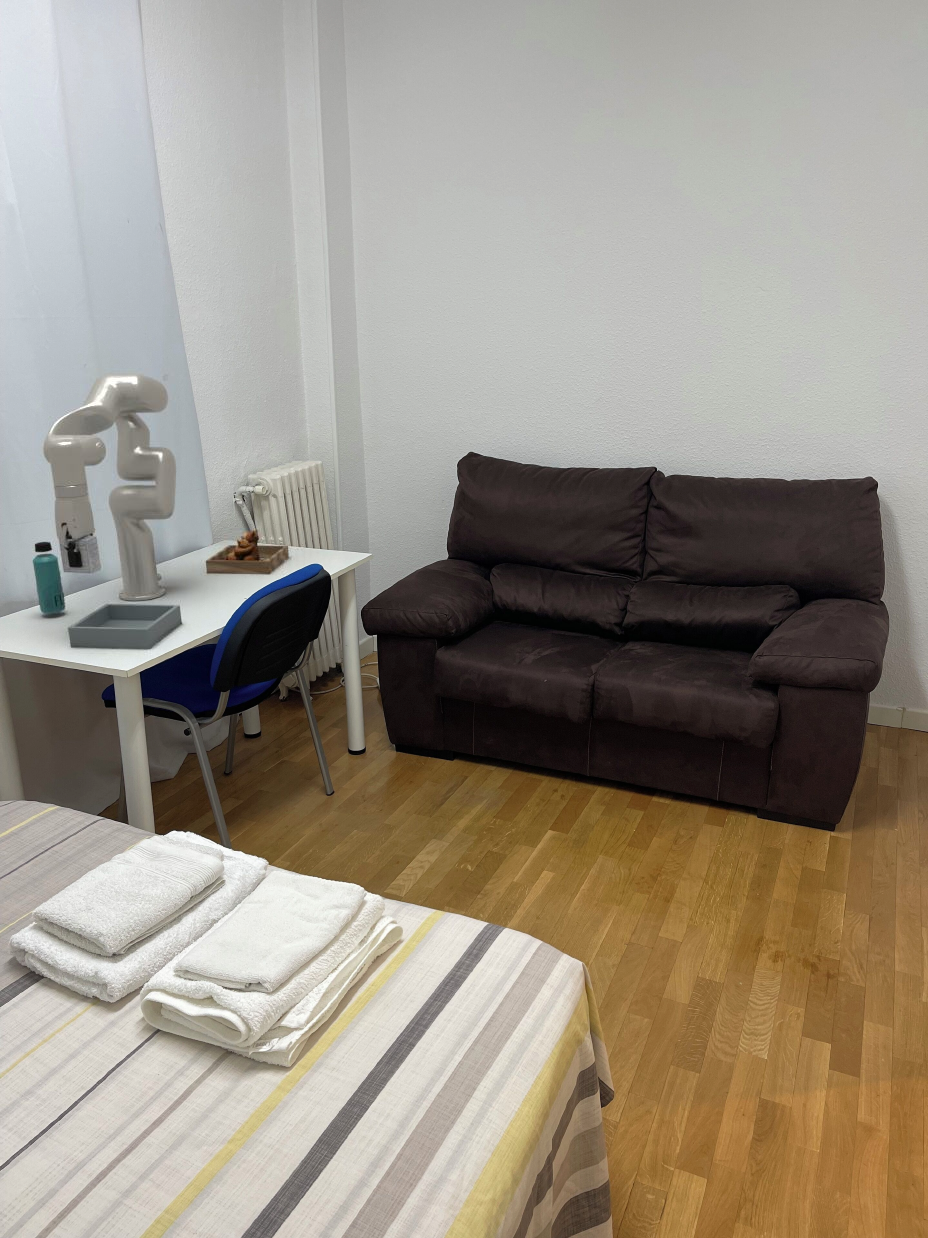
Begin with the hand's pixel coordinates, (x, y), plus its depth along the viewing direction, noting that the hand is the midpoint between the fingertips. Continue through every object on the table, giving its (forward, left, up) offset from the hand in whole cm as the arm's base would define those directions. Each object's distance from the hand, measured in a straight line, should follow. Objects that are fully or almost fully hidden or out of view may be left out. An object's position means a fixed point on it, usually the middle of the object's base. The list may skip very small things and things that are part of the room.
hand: (81, 563), depth 239 cm
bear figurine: (-67, +18, -19) cm, 72 cm away
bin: (+1, +10, -18) cm, 21 cm away
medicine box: (0, 0, -2) cm, 2 cm away
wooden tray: (-69, +18, -18) cm, 74 cm away
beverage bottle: (-14, -18, -18) cm, 29 cm away
